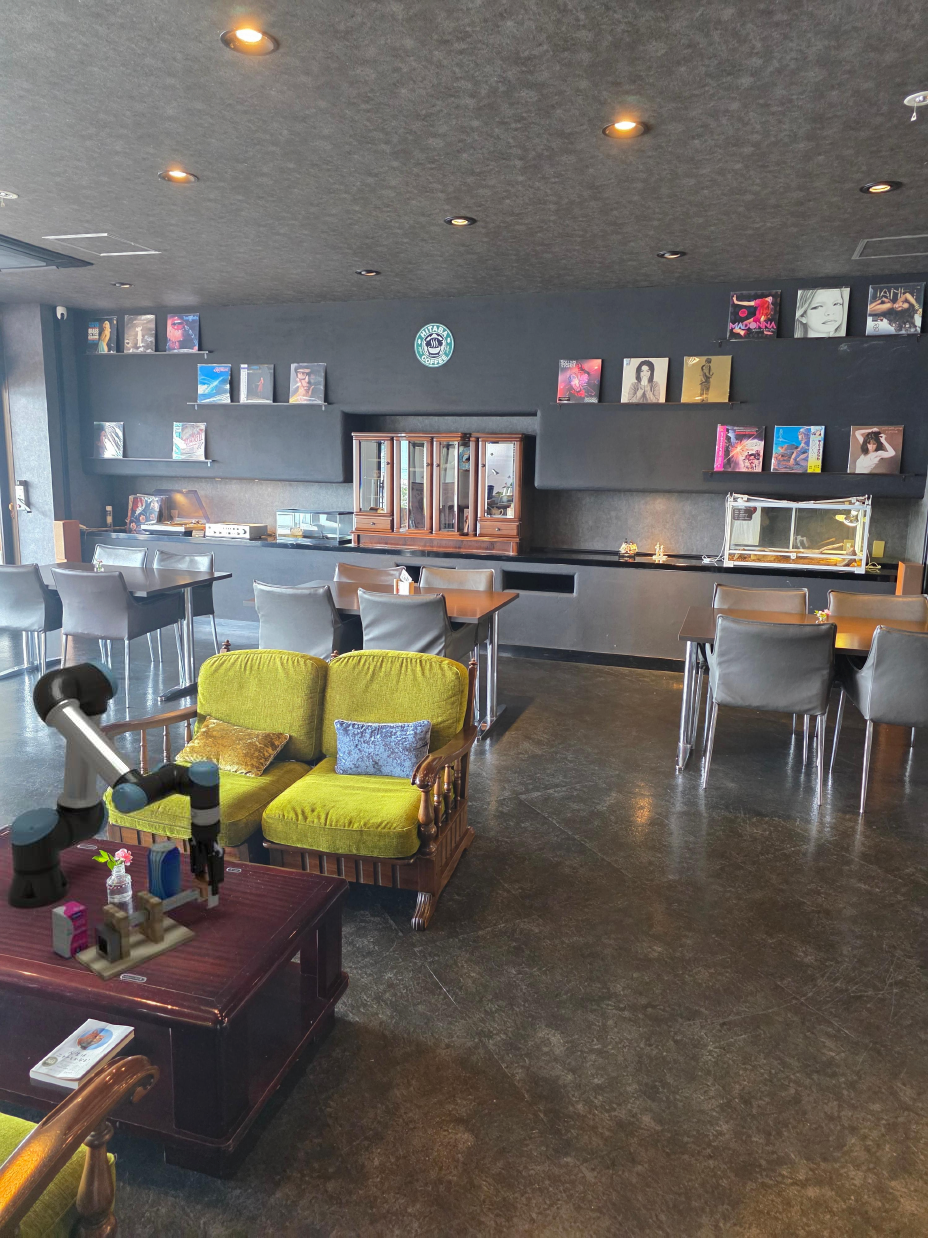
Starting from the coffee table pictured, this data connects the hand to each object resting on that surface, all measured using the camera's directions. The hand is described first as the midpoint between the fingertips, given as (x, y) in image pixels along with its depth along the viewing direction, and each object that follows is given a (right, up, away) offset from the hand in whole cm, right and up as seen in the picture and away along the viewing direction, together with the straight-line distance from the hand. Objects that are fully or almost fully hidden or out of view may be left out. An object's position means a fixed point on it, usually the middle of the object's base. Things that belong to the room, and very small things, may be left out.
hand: (207, 902), depth 219 cm
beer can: (-14, -2, +8) cm, 17 cm away
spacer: (-17, -6, -22) cm, 28 cm away
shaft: (-7, +2, -9) cm, 12 cm away
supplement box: (-28, -6, -18) cm, 34 cm away
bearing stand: (-13, -6, -16) cm, 21 cm away
